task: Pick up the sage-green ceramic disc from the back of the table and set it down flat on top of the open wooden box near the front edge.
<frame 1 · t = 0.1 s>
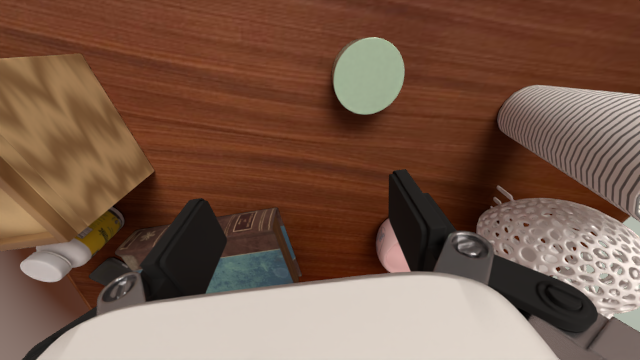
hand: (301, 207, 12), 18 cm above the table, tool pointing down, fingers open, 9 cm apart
supplement bottle: (107, 214, 34), on the table
smartphone: (141, 283, 43), on the table
open wooden box: (76, 128, 27), on the table
cup: (520, 110, 28), on the table
book: (227, 253, 40), on the table
disc: (363, 75, 25), on the table
mug: (400, 231, 38), on the table
decorative heart: (489, 210, 36), on the table
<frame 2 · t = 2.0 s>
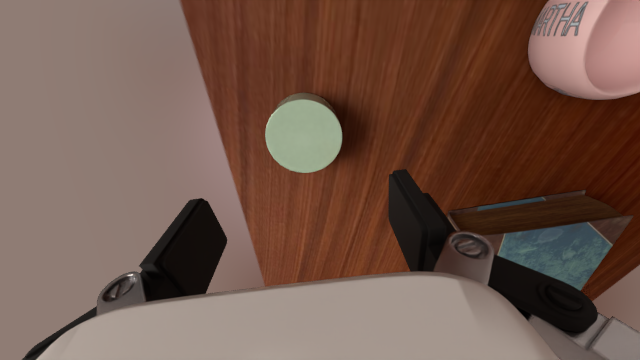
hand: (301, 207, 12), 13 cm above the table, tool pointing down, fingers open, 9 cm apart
book: (494, 258, 35), on the table
disc: (304, 128, 23), on the table
mug: (580, 26, 19), on the table
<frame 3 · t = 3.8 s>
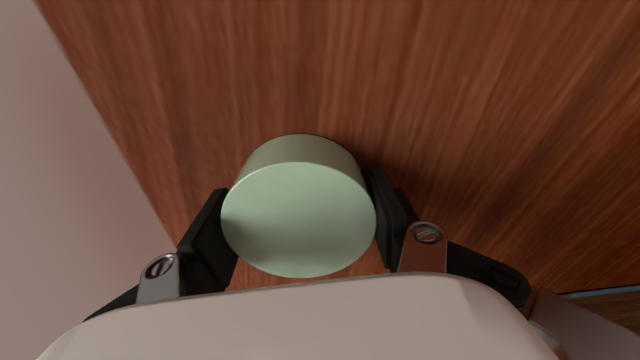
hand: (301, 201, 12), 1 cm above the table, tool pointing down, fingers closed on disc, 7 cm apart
book: (571, 344, 25), on the table
disc: (302, 192, 13), on the table, touching gripper
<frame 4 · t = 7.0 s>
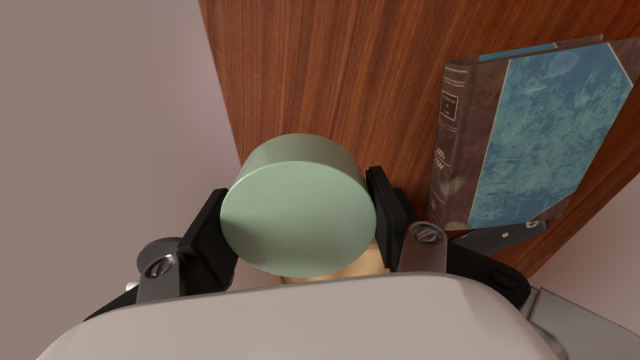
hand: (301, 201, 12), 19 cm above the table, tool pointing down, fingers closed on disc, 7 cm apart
smartphone: (494, 233, 41), on the table
open wooden box: (328, 213, 38), on the table
book: (495, 141, 32), on the table
disc: (302, 192, 13), point 18 cm above the table, touching gripper
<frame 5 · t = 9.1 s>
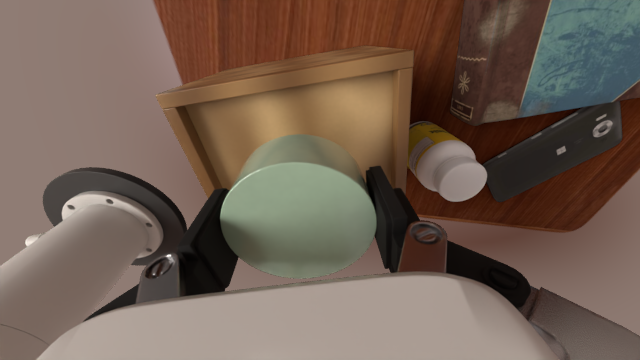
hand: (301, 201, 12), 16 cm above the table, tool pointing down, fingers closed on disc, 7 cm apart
supplement bottle: (417, 140, 28), on the table
smartphone: (543, 152, 29), on the table
open wooden box: (306, 116, 26), on the table
disc: (302, 193, 13), point 15 cm above the table, touching gripper
when the fingers open (12 cm above the table, at t = 10.6 s): disc stays where it is, resting on open wooden box.
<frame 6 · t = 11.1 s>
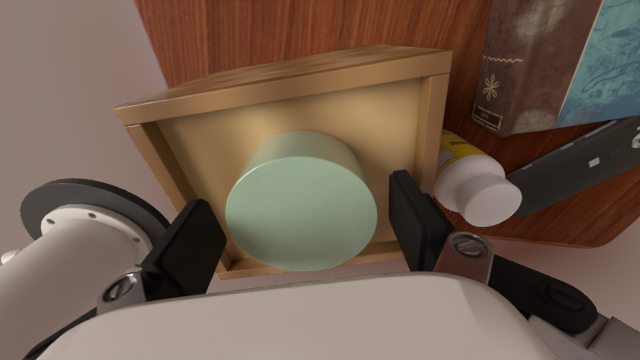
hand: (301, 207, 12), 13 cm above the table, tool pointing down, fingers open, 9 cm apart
supplement bottle: (431, 150, 25), on the table
smartphone: (573, 164, 26), on the table
open wooden box: (308, 124, 23), on the table
disc: (304, 188, 13), point 12 cm above the table, touching open wooden box
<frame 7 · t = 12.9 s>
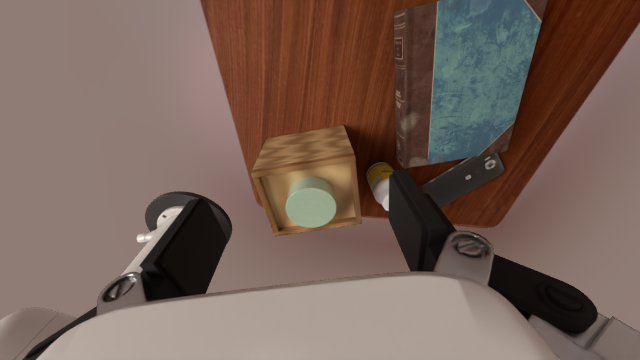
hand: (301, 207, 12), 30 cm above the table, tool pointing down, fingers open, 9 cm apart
supplement bottle: (379, 172, 45), on the table
smartphone: (459, 178, 47), on the table
open wooden box: (311, 161, 43), on the table
book: (446, 85, 37), on the table
disc: (311, 196, 34), point 12 cm above the table, touching open wooden box
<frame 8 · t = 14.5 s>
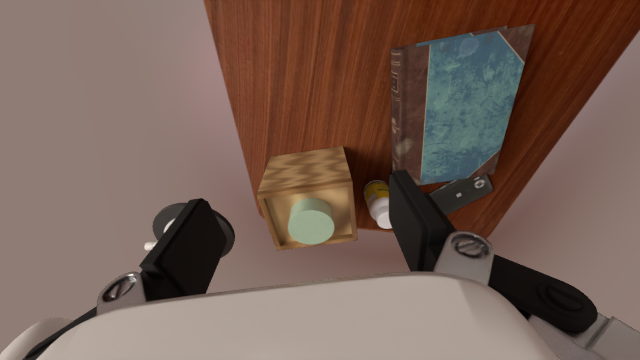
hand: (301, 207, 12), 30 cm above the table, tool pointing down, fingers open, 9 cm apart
supplement bottle: (375, 189, 48), on the table
smartphone: (451, 195, 49), on the table
open wooden box: (311, 177, 46), on the table
book: (439, 112, 40), on the table
disc: (311, 215, 36), point 12 cm above the table, touching open wooden box
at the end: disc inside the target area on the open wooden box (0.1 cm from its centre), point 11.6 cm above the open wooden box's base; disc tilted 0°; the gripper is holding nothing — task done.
